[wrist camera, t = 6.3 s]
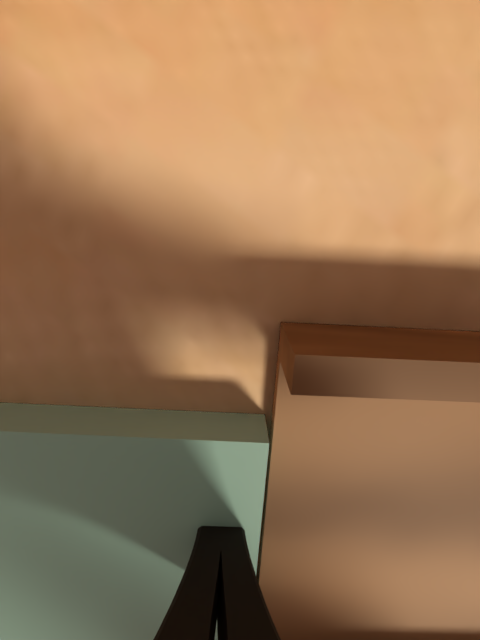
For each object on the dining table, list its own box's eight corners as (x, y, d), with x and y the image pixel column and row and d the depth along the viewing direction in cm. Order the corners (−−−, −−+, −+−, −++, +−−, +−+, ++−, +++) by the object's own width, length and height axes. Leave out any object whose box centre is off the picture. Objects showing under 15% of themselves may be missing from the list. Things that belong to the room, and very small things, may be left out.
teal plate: (246, 589, 14) (249, 648, 12) (-16, 580, 14) (-55, 640, 12) (263, 405, 12) (269, 443, 10) (-49, 391, 12) (-105, 426, 10)
